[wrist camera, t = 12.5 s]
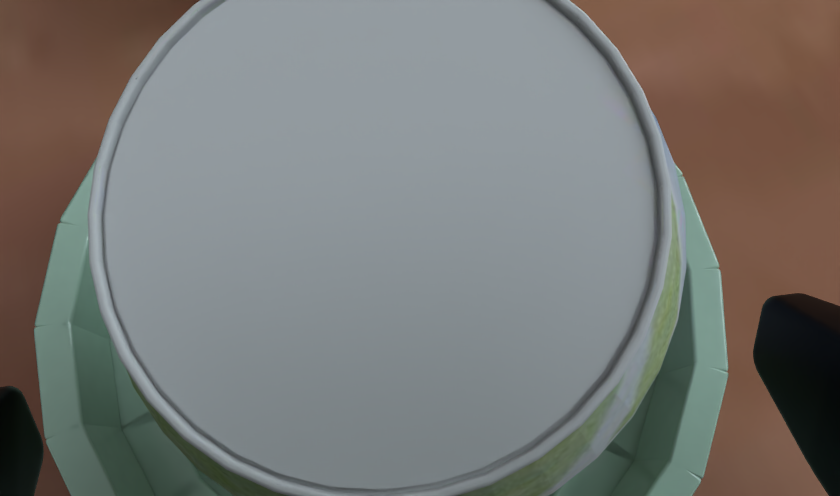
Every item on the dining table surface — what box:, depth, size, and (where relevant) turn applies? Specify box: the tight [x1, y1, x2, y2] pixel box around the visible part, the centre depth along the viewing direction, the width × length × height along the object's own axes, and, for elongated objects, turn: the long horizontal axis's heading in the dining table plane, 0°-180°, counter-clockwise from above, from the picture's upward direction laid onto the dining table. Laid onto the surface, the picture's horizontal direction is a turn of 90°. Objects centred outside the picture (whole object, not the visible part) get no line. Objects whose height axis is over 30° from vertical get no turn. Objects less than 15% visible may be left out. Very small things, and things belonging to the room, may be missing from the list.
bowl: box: [34, 158, 728, 496], centre depth 15 cm, size 13×13×4 cm
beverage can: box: [88, 0, 686, 496], centre depth 11 cm, size 6×7×12 cm
